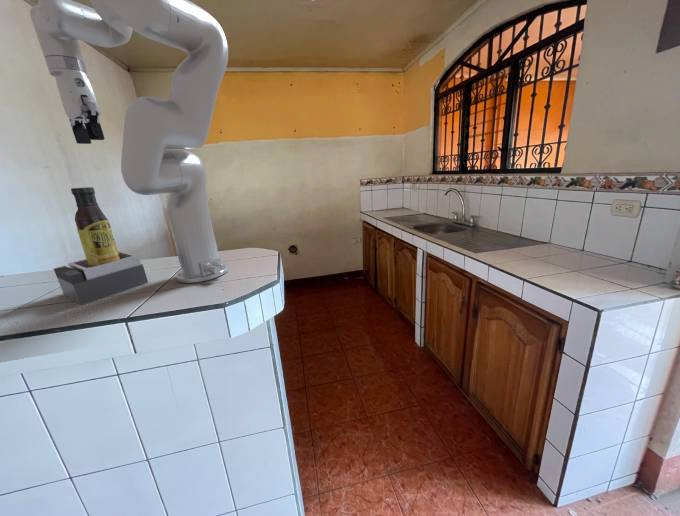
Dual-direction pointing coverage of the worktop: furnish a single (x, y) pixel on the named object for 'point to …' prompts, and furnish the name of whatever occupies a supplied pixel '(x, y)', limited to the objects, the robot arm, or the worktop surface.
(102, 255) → the sauce bottle
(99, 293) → the grey stepped tray box
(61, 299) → the worktop surface
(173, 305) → the worktop surface
